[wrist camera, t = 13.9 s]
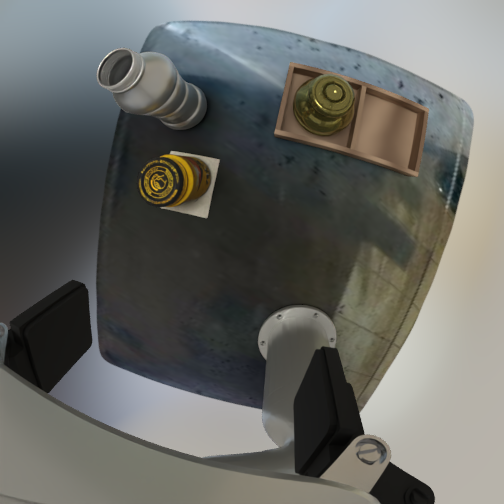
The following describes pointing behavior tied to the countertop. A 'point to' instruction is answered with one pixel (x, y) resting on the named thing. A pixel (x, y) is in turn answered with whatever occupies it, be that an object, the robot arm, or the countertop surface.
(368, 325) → the countertop surface
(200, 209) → the condiment
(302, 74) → the caddy
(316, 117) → the brass weight
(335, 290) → the countertop surface
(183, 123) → the plastic bottle
